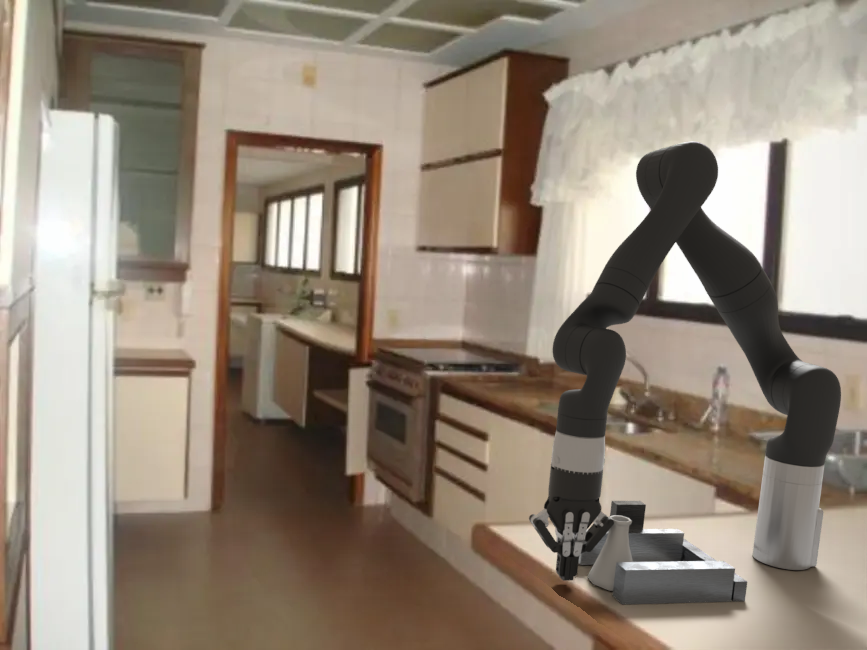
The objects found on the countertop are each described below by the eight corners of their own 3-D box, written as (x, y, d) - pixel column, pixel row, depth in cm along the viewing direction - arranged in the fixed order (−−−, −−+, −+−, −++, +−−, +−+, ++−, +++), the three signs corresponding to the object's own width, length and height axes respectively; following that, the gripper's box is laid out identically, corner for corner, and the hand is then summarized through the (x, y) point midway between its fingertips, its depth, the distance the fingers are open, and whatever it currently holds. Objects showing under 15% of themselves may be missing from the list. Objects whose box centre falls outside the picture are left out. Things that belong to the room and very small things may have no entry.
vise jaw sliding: (668, 554, 156) (674, 501, 155) (680, 563, 152) (687, 508, 151) (570, 555, 151) (575, 500, 150) (580, 564, 148) (586, 508, 147)
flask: (608, 595, 137) (616, 528, 136) (578, 576, 143) (585, 512, 142) (647, 590, 140) (655, 524, 139) (616, 572, 146) (624, 509, 145)
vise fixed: (679, 554, 157) (682, 524, 157) (744, 601, 139) (749, 568, 138) (568, 555, 152) (571, 525, 151) (621, 604, 134) (625, 570, 133)
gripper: (608, 457, 143) (596, 568, 145) (525, 455, 139) (514, 569, 141) (630, 470, 136) (618, 587, 138) (544, 469, 132) (532, 589, 134)
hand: (565, 578), depth 139 cm, fingers closed
